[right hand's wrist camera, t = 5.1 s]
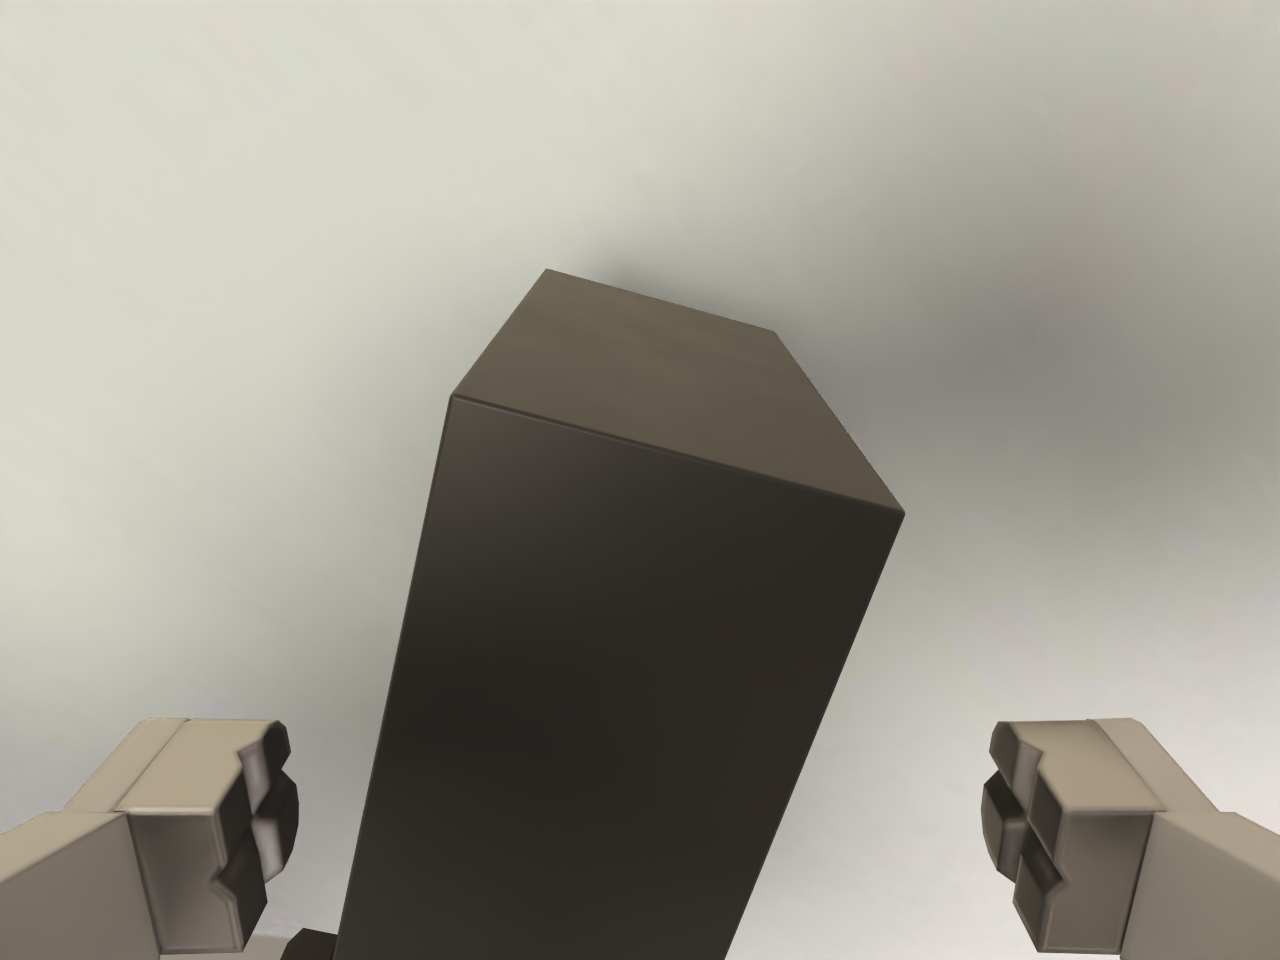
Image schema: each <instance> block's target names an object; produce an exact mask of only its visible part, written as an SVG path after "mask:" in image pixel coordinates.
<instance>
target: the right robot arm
mask: <svg viewBox="0 0 1280 960" xmlns="http://www.w3.org/2000/svg"><path fill="white" fill-rule="evenodd" d="M290 753H291V750H290V745H289V740H288V735H287V730H286V727H285V726H284V725H283V724H282V723H281V722H280V721H278V720H237V719H192V720H191V719H188V718H157V719H148V720H145V721H142V722H139V723H138V724H137V725H136V726H135V727H134V728H133V730H132V731H131V732H130V733H129V734H128V735H127V736H126V738H125V739H124V740H123V741H122V742H121V743H120V744H119V745H118V747H117V748H116V749H115V750H114V751H113V752H112V753H111V755H110V756H109V757H108V758H107V759H106V760H105V761H104V763H103V764H102V765H101V766H100V767H99V768H98V769H97V771H96V772H95V773H94V774H93V775H92V776H91V777H90V778H89V780H88V781H87V782H86V783H85V784H84V785H83V786H82V788H81V789H80V790H79V791H78V792H77V793H76V794H75V796H74V797H73V798H72V799H71V800H70V801H69V802H68V803H67V805H66V806H65V807H64V808H63V809H62V810H61V811H60V812H45V813H43V814H41V815H39V816H37V817H35V818H33V819H31V820H29V821H27V822H25V823H23V824H21V825H19V826H18V827H16V828H14V829H12V830H10V831H8V832H6V833H4V834H2V835H0V960H160V955H168V954H201V953H235V952H243V950H244V948H245V946H246V944H247V942H248V940H249V938H250V936H251V934H252V932H253V930H254V928H255V926H256V924H257V922H258V920H259V918H260V916H261V914H262V912H263V910H264V908H265V906H266V904H267V896H266V890H265V883H266V882H268V881H269V880H270V879H272V878H273V877H275V876H276V875H277V874H279V873H280V872H282V871H283V870H284V867H285V865H286V863H287V861H288V859H289V857H290V854H291V852H292V850H293V846H294V841H295V837H296V832H297V828H298V818H299V801H298V794H297V787H296V784H295V783H294V782H293V781H292V780H291V779H290V778H289V777H288V776H287V775H286V774H285V773H284V772H283V771H282V770H281V769H282V767H283V765H284V763H285V762H286V760H287V758H288V756H289V755H290ZM989 753H990V755H991V756H992V758H993V760H994V762H995V763H996V765H997V767H998V769H999V770H998V771H997V772H996V773H995V774H994V775H993V776H992V777H991V778H990V779H989V780H988V781H987V782H986V783H985V784H984V788H983V796H982V804H981V816H982V827H983V835H984V839H985V842H986V846H987V849H988V853H989V855H990V857H991V859H992V861H993V863H994V865H995V867H996V870H997V871H998V872H1000V873H1001V874H1003V875H1004V876H1005V877H1007V878H1008V879H1010V880H1011V881H1012V882H1014V883H1015V884H1016V885H1015V890H1014V896H1013V904H1014V906H1015V908H1016V910H1017V912H1018V914H1019V916H1020V918H1021V920H1022V922H1023V924H1024V926H1025V928H1026V930H1027V932H1028V934H1029V936H1030V938H1031V940H1032V942H1033V944H1034V946H1035V948H1036V950H1037V952H1041V953H1076V954H1112V955H1120V959H1121V960H1280V835H1278V834H1276V833H1274V832H1272V831H1270V830H1268V829H1266V828H1264V827H1262V826H1260V825H1258V824H1257V823H1255V822H1253V821H1251V820H1249V819H1247V818H1245V817H1243V816H1241V815H1239V814H1237V813H1235V812H1220V811H1219V810H1218V809H1217V808H1216V807H1215V806H1214V805H1213V804H1212V802H1211V801H1210V800H1209V799H1208V798H1207V797H1206V796H1205V794H1204V793H1203V792H1202V791H1201V790H1200V789H1199V788H1198V786H1197V785H1196V784H1195V783H1194V782H1193V781H1192V780H1191V779H1190V777H1189V776H1188V775H1187V774H1186V773H1185V772H1184V771H1183V769H1182V768H1181V767H1180V766H1179V765H1178V764H1177V763H1176V761H1175V760H1174V759H1173V758H1172V757H1171V756H1170V755H1169V754H1168V752H1167V751H1166V750H1165V749H1164V748H1163V747H1162V746H1161V744H1160V743H1159V742H1158V741H1157V740H1156V739H1155V738H1154V736H1153V735H1152V734H1151V733H1150V732H1149V731H1148V730H1147V728H1146V727H1145V726H1144V725H1143V724H1142V723H1140V722H1138V721H1136V720H1134V719H1132V718H1110V719H1087V720H1072V721H998V723H997V725H996V727H995V729H994V731H993V733H992V738H991V744H990V749H989Z"/></svg>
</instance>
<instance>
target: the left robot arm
mask: <svg viewBox="0 0 1280 960" xmlns="http://www.w3.org/2000/svg"><path fill="white" fill-rule="evenodd" d="M337 936H338V935H336V934H331V933H326V932H321V931H316V930H311V929H306V928H303V929H302V930H301V931H300V932H299V933H297V934H296V935H295V936H294V937H293V938H292V939H291V940H290V941H289V942H288V943H287V946H286V948H285V950H284V952H283V955H282V957H281V959H280V960H333V955H334V950H335V946H336V941H337Z"/></svg>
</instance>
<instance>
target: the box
mask: <svg viewBox="0 0 1280 960" xmlns="http://www.w3.org/2000/svg"><path fill="white" fill-rule="evenodd" d="M904 516H905V511H904V510H903V509H902V507H901V506H900V504H899V503H898V502H897V500H896V499H895V498H894V496H893V495H892V493H891V492H890V491H889V489H888V488H887V486H886V485H885V484H884V482H883V481H882V480H881V478H880V477H879V475H878V474H877V473H876V471H875V470H874V469H873V467H872V466H871V464H870V463H869V462H868V460H867V459H866V458H865V456H864V455H863V453H862V452H861V451H860V449H859V448H858V446H857V445H856V444H855V442H854V441H853V440H852V438H851V437H850V435H849V434H848V433H847V431H846V430H845V429H844V427H843V426H842V424H841V423H840V422H839V420H838V419H837V417H836V416H835V415H834V413H833V412H832V411H831V409H830V408H829V406H828V405H827V404H826V402H825V401H824V400H823V398H822V397H821V395H820V394H819V393H818V391H817V390H816V388H815V387H814V386H813V384H812V383H811V382H810V380H809V379H808V377H807V376H806V375H805V373H804V372H803V371H802V369H801V368H800V366H799V365H798V364H797V362H796V361H795V359H794V358H793V357H792V355H791V354H790V353H789V351H788V350H787V348H786V347H785V346H784V344H783V343H782V342H781V340H780V339H779V337H778V336H777V335H776V333H775V332H774V331H771V330H767V329H763V328H760V327H756V326H753V325H749V324H745V323H742V322H738V321H734V320H731V319H727V318H724V317H720V316H716V315H713V314H709V313H706V312H702V311H698V310H695V309H691V308H687V307H684V306H680V305H677V304H673V303H669V302H666V301H662V300H659V299H655V298H651V297H648V296H644V295H640V294H637V293H633V292H630V291H626V290H622V289H619V288H615V287H612V286H608V285H604V284H601V283H597V282H593V281H590V280H586V279H583V278H579V277H575V276H572V275H568V274H565V273H561V272H557V271H554V270H550V269H545V271H544V272H543V273H542V275H541V276H540V277H539V279H538V280H537V281H536V283H535V284H534V285H533V287H532V288H531V289H530V291H529V292H528V293H527V295H526V296H525V297H524V299H523V300H522V301H521V303H520V304H519V305H518V307H517V308H516V309H515V311H514V312H513V313H512V315H511V316H510V317H509V319H508V320H507V321H506V322H505V324H504V325H503V326H502V328H501V329H500V330H499V332H498V333H497V334H496V336H495V337H494V338H493V340H492V341H491V342H490V344H489V345H488V346H487V348H486V349H485V350H484V352H483V353H482V354H481V356H480V357H479V358H478V360H477V361H476V362H475V364H474V365H473V366H472V368H471V369H470V370H469V372H468V373H467V374H466V376H465V377H464V378H463V380H462V381H461V382H460V383H459V385H458V386H457V387H456V389H455V390H454V391H453V393H452V394H451V395H450V398H449V402H448V407H447V412H446V417H445V422H444V426H443V431H442V436H441V441H440V446H439V451H438V455H437V460H436V465H435V470H434V475H433V479H432V484H431V489H430V494H429V499H428V503H427V508H426V513H425V518H424V523H423V527H422V532H421V537H420V542H419V547H418V551H417V556H416V561H415V566H414V571H413V575H412V580H411V585H410V590H409V595H408V600H407V604H406V609H405V614H404V619H403V624H402V628H401V633H400V638H399V643H398V648H397V652H396V657H395V662H394V667H393V672H392V676H391V681H390V686H389V691H388V696H387V700H386V705H385V710H384V715H383V720H382V724H381V729H380V734H379V739H378V744H377V749H376V753H375V758H374V763H373V768H372V773H371V777H370V782H369V787H368V792H367V797H366V801H365V806H364V811H363V816H362V821H361V825H360V830H359V835H358V840H357V845H356V849H355V854H354V859H353V864H352V869H351V873H350V878H349V883H348V888H347V893H346V897H345V902H344V907H343V912H342V917H341V922H340V926H339V931H338V936H337V941H336V946H335V950H334V955H333V960H725V957H726V955H727V952H728V950H729V948H730V945H731V943H732V940H733V938H734V935H735V933H736V930H737V928H738V925H739V923H740V920H741V918H742V915H743V913H744V911H745V908H746V906H747V903H748V901H749V898H750V896H751V893H752V891H753V888H754V886H755V883H756V881H757V878H758V876H759V874H760V871H761V869H762V866H763V864H764V861H765V859H766V856H767V854H768V851H769V849H770V846H771V844H772V841H773V839H774V837H775V834H776V832H777V829H778V827H779V824H780V822H781V819H782V817H783V814H784V812H785V809H786V807H787V804H788V802H789V800H790V797H791V795H792V792H793V790H794V787H795V785H796V782H797V780H798V777H799V775H800V772H801V770H802V767H803V765H804V763H805V760H806V758H807V755H808V753H809V750H810V748H811V745H812V743H813V740H814V738H815V735H816V733H817V730H818V728H819V726H820V723H821V721H822V718H823V716H824V713H825V711H826V708H827V706H828V703H829V701H830V698H831V696H832V694H833V691H834V689H835V686H836V684H837V681H838V679H839V676H840V674H841V671H842V669H843V666H844V664H845V661H846V659H847V657H848V654H849V652H850V649H851V647H852V644H853V642H854V639H855V637H856V634H857V632H858V629H859V627H860V624H861V622H862V620H863V617H864V615H865V612H866V610H867V607H868V605H869V602H870V600H871V597H872V595H873V592H874V590H875V587H876V585H877V583H878V580H879V578H880V575H881V573H882V570H883V568H884V565H885V563H886V560H887V558H888V555H889V553H890V550H891V548H892V546H893V543H894V541H895V538H896V536H897V533H898V531H899V528H900V526H901V523H902V521H903V518H904Z"/></svg>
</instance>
